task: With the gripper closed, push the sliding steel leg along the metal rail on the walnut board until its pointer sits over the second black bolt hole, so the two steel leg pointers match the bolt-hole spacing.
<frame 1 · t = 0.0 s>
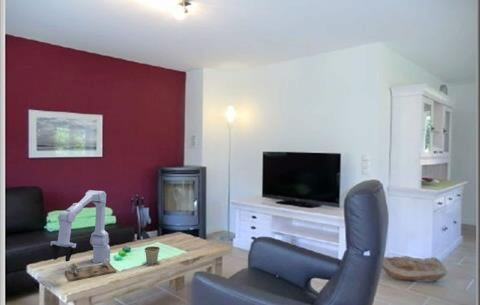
hand: (61, 260, 185), 11 cm above the table, tool pointing down, fingers open, 7 cm apart
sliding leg: (107, 263, 202), point 3 cm above the table, slide at 0.0 cm
gauge board: (90, 272, 196), on the table
flower pot: (152, 262, 215), on the table
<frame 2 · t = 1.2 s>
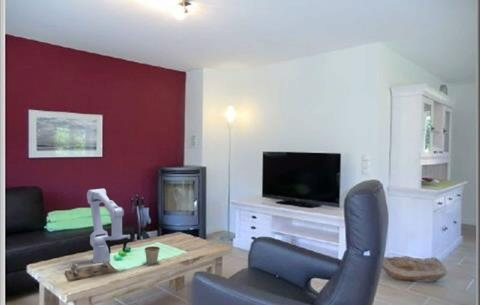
hand: (116, 252, 202), 10 cm above the table, tool pointing down, fingers open, 7 cm apart
nothing on the table moved.
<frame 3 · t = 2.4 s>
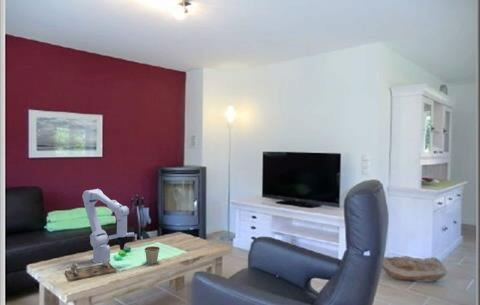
hand: (121, 249, 208), 9 cm above the table, tool pointing down, fingers closed
nothing on the table moved.
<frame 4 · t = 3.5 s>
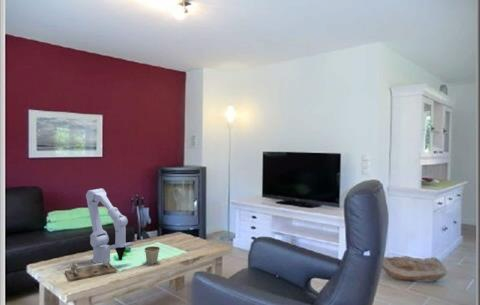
hand: (120, 259, 208), 3 cm above the table, tool pointing down, fingers closed
nothing on the table moved.
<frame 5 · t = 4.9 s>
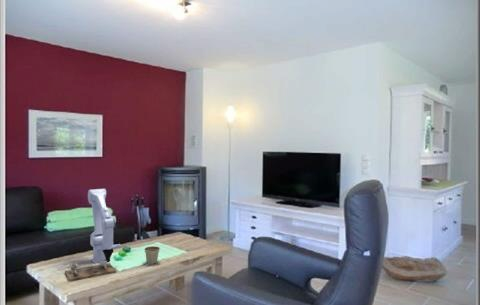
hand: (107, 261, 204), 3 cm above the table, tool pointing down, fingers closed
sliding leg: (104, 263, 201), point 3 cm above the table, slide at 1.6 cm, touching gripper
everything else where it was.
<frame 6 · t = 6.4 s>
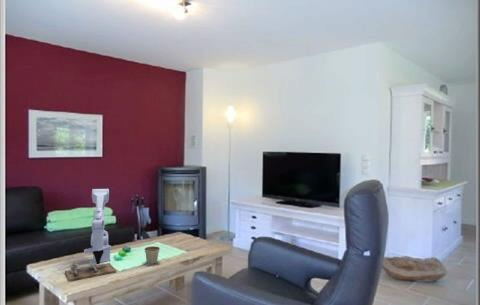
hand: (97, 263, 201), 3 cm above the table, tool pointing down, fingers closed
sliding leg: (94, 265, 198), point 3 cm above the table, slide at 7.1 cm, touching gripper
everything else where it was.
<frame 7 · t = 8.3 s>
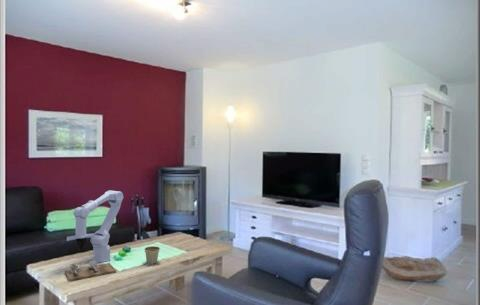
hand: (80, 251, 204), 9 cm above the table, tool pointing down, fingers closed
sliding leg: (94, 265, 198), point 3 cm above the table, slide at 7.1 cm
everything else where it was.
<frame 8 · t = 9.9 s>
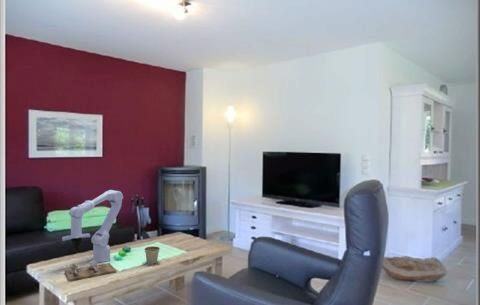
hand: (76, 250, 204), 9 cm above the table, tool pointing down, fingers closed
nothing on the table moved.
at the end: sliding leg slide at 7.1 cm; flower pot moved 0.2 cm from its start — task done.
